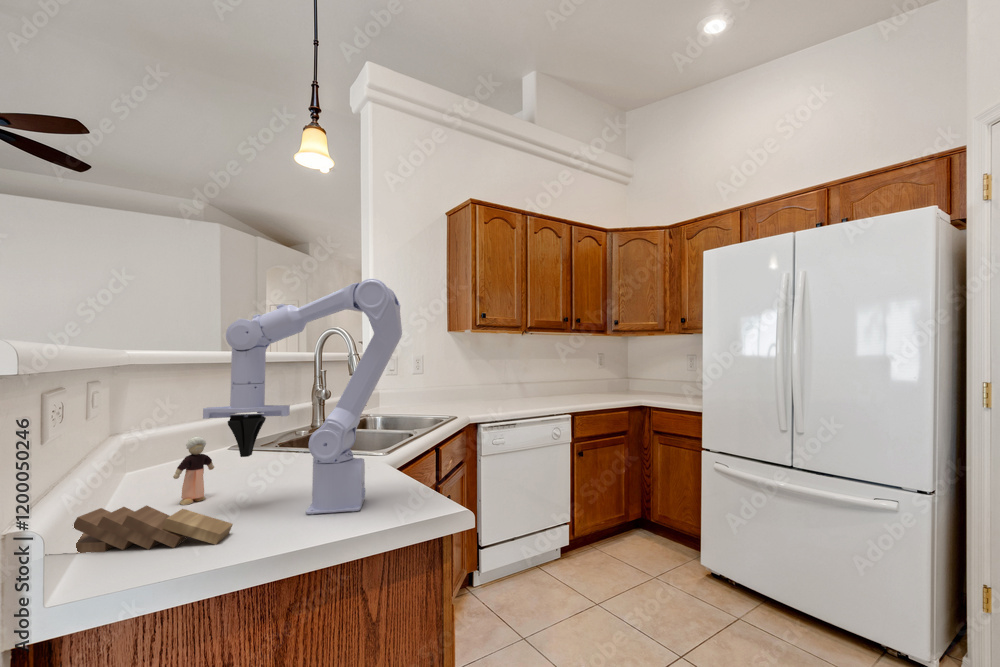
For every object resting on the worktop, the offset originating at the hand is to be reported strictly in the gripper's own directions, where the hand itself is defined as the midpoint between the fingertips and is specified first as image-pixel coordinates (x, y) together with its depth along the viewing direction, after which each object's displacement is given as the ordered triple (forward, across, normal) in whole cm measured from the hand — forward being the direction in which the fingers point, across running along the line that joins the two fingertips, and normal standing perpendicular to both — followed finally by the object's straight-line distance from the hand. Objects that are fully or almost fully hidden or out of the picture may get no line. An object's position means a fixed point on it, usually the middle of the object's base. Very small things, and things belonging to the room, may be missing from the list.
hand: (246, 455), depth 84 cm
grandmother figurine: (+10, +12, -8) cm, 18 cm away
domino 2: (+9, +13, +14) cm, 21 cm away
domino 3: (+9, +7, +14) cm, 18 cm away
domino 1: (+9, +10, +14) cm, 20 cm away
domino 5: (+9, -2, +14) cm, 17 cm away
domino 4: (+9, +3, +15) cm, 18 cm away
